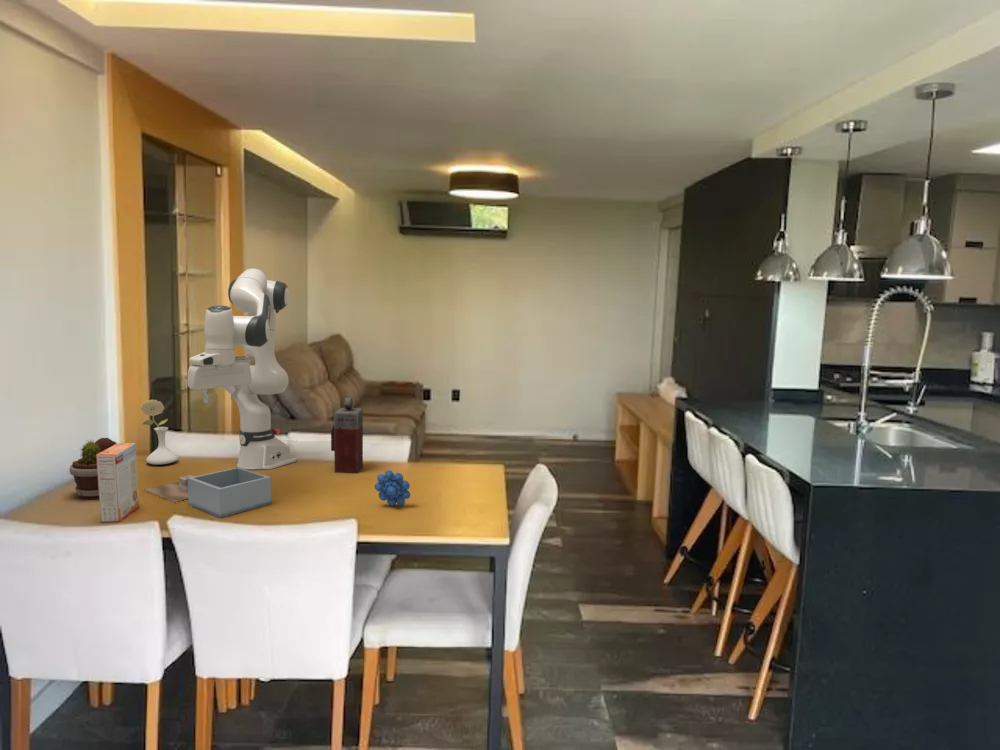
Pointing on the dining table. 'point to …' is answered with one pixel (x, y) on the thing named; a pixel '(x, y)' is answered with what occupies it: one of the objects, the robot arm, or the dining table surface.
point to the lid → (172, 490)
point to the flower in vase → (162, 452)
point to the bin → (229, 491)
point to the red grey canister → (348, 438)
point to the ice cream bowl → (104, 444)
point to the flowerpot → (86, 472)
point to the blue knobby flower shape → (392, 488)
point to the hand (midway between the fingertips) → (221, 401)
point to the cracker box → (117, 482)
